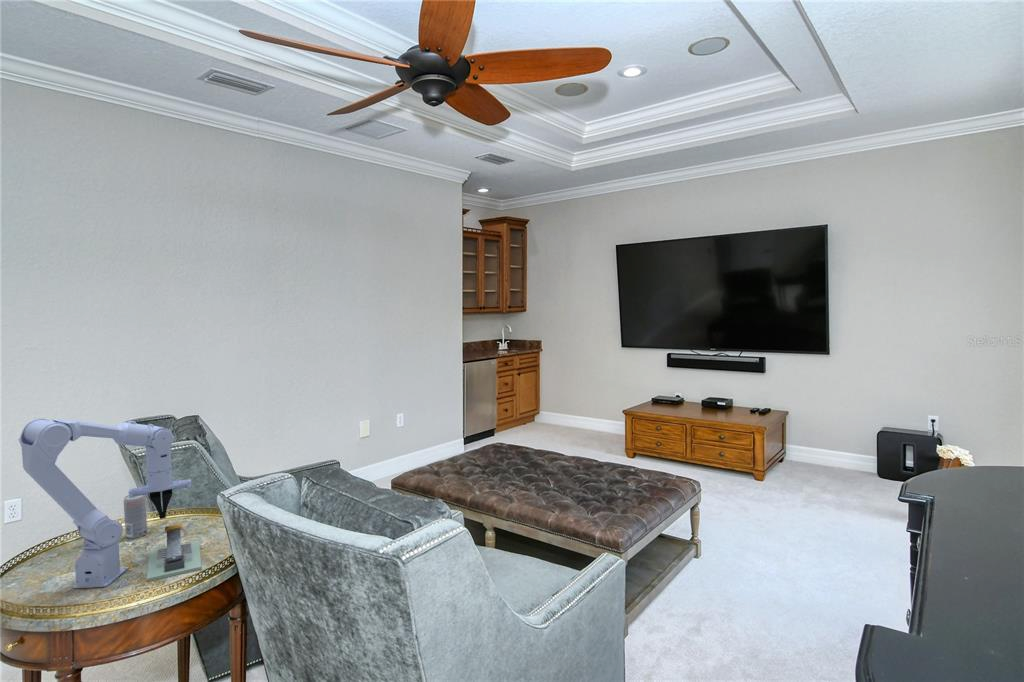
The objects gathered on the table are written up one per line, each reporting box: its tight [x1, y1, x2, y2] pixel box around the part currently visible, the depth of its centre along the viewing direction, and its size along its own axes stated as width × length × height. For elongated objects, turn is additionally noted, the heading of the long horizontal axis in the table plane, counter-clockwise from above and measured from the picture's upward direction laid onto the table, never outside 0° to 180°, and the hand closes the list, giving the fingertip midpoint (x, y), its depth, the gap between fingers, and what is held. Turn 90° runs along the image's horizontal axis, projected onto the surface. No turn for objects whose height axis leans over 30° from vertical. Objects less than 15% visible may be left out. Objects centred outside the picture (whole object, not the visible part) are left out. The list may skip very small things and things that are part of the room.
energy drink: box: [123, 494, 148, 539], centre depth 166 cm, size 5×5×12 cm
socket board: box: [146, 540, 202, 582], centre depth 149 cm, size 18×12×5 cm, turn 31°
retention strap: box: [164, 523, 183, 563], centre depth 148 cm, size 13×4×1 cm, turn 31°
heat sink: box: [156, 542, 192, 568], centre depth 149 cm, size 8×8×2 cm
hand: (162, 517), depth 153 cm, fingers closed
